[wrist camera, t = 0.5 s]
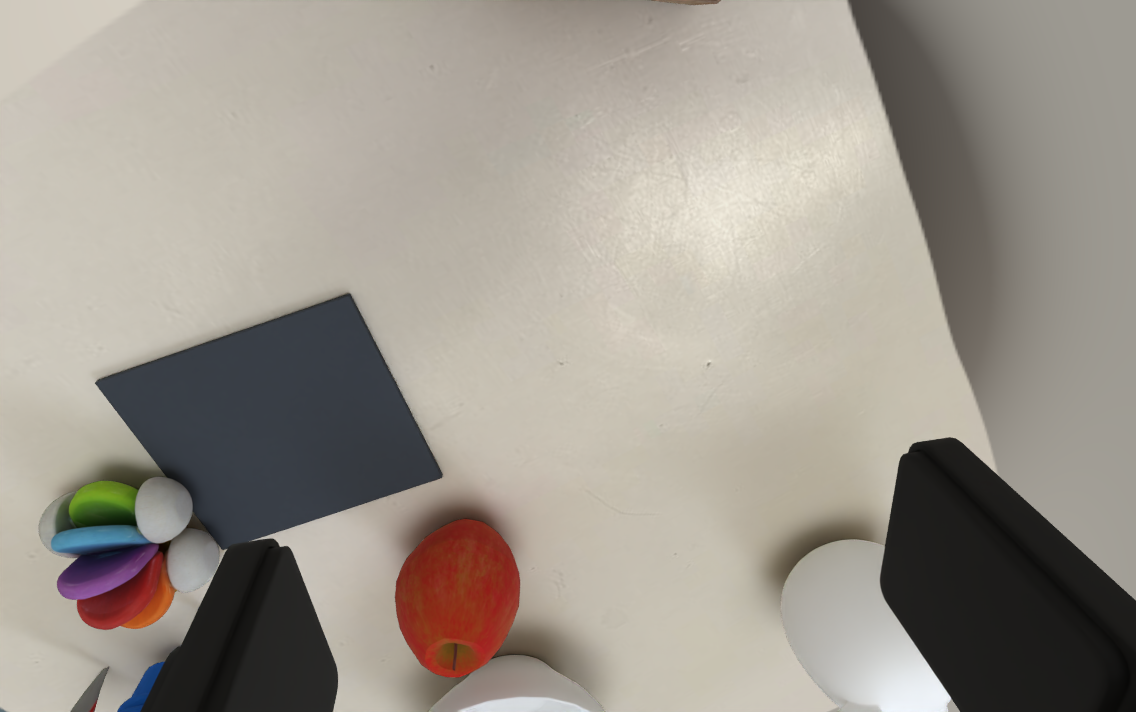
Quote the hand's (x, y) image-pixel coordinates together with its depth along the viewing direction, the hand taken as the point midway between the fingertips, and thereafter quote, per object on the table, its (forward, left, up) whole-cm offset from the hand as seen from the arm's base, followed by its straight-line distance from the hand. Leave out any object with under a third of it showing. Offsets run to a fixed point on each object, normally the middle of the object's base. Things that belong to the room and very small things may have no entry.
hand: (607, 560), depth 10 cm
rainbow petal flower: (+14, -31, -30) cm, 45 cm away
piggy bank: (+38, +13, -30) cm, 50 cm away
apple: (+24, -13, -30) cm, 40 cm away
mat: (+11, -20, -30) cm, 37 cm away
